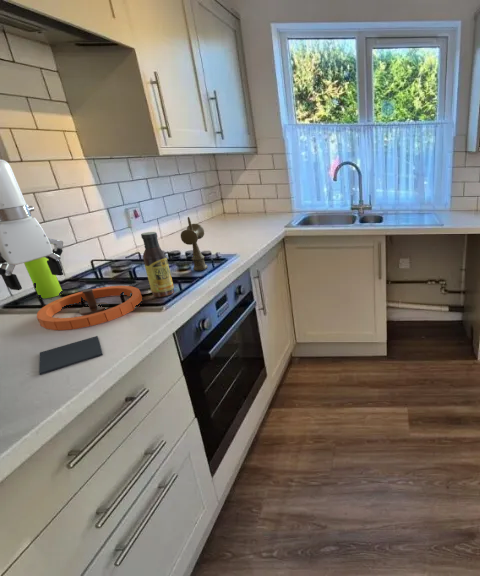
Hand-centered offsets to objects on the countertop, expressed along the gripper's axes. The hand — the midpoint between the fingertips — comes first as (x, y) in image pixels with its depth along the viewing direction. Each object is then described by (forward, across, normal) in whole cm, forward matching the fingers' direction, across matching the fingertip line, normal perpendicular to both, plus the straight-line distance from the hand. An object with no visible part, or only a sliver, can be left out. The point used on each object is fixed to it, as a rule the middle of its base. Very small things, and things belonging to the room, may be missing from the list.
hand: (38, 281), depth 92 cm
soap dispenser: (+13, -16, -25) cm, 32 cm away
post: (+13, -10, 0) cm, 16 cm away
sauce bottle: (+13, -24, +12) cm, 30 cm away
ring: (+13, -10, 0) cm, 16 cm away
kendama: (+13, -46, +8) cm, 49 cm away
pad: (+13, +10, +18) cm, 24 cm away
